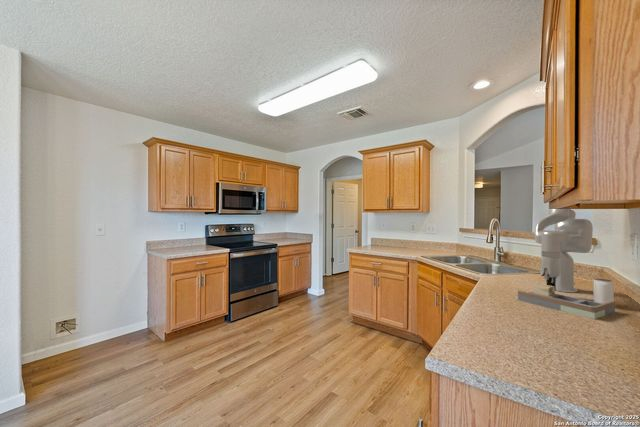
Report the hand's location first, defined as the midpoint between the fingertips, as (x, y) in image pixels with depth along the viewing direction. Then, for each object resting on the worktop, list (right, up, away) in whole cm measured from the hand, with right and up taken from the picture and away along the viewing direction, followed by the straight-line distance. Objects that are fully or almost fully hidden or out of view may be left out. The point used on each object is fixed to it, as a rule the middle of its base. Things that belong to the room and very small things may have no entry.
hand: (551, 290), depth 137 cm
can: (+13, -4, -13) cm, 19 cm away
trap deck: (-6, -3, -14) cm, 15 cm away
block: (-6, -1, -3) cm, 7 cm away
